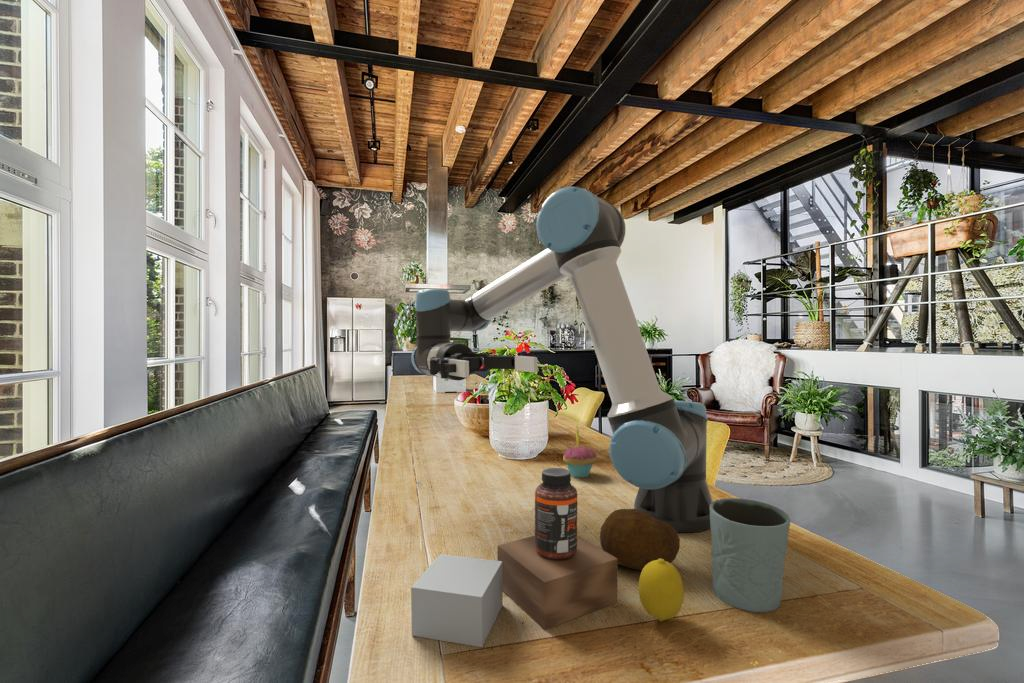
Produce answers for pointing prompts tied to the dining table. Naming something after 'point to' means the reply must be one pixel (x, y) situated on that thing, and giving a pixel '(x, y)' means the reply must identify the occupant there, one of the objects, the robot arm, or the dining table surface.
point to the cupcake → (579, 459)
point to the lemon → (661, 589)
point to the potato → (638, 538)
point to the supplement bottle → (556, 515)
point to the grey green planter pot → (748, 553)
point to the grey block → (457, 599)
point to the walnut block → (558, 581)
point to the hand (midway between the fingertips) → (502, 366)
